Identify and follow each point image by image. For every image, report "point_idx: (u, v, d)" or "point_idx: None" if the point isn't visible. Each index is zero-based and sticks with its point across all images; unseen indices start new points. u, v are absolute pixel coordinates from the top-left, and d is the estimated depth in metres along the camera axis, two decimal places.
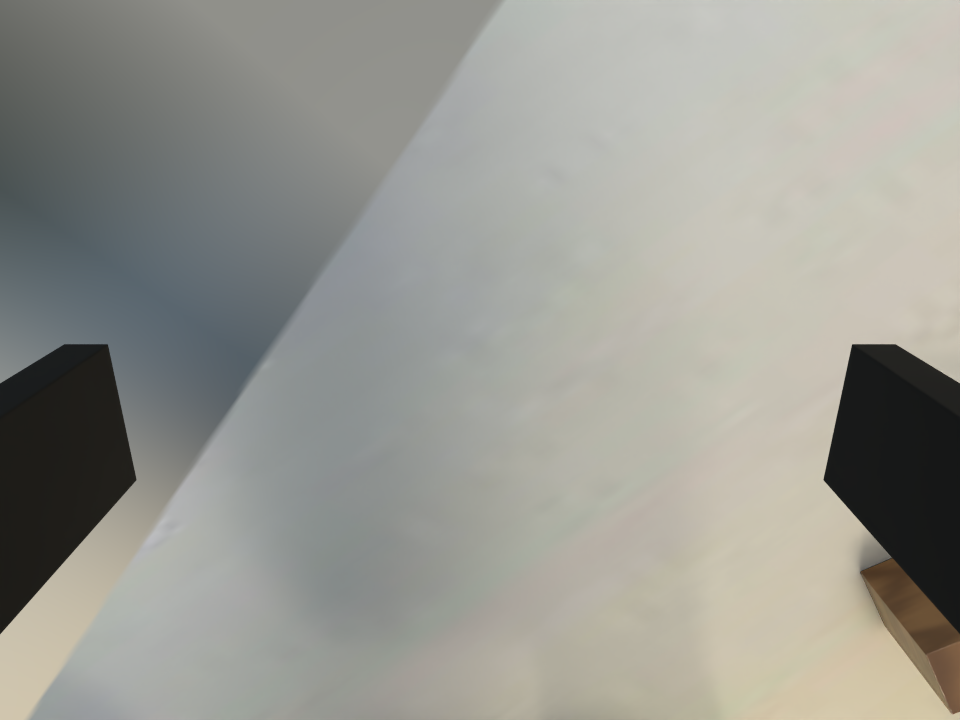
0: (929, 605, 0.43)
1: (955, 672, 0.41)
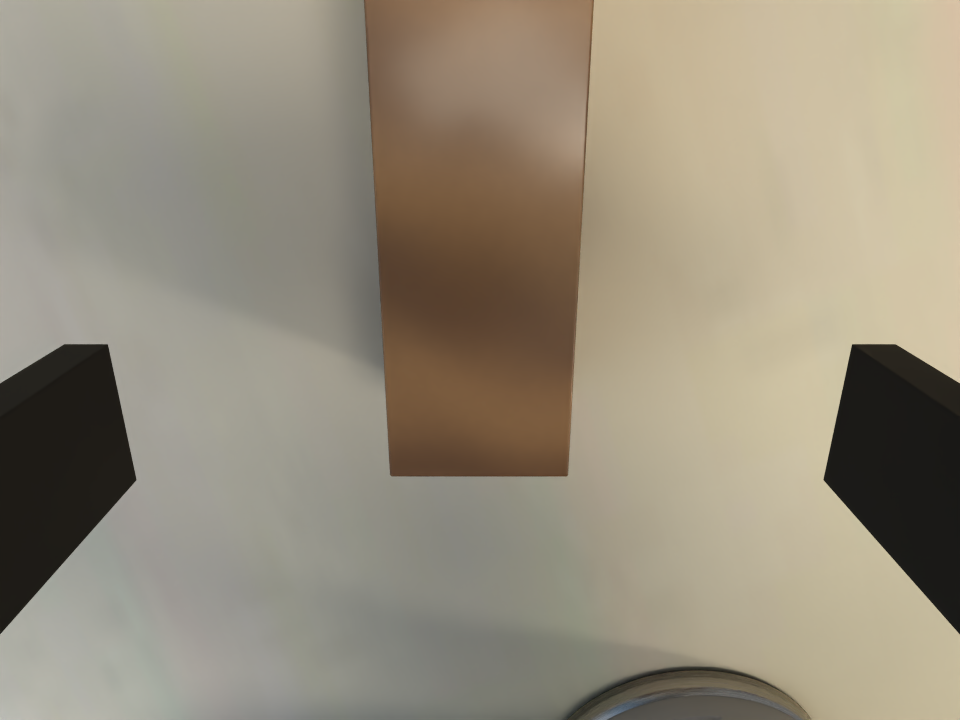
0: None
1: (461, 444, 0.21)
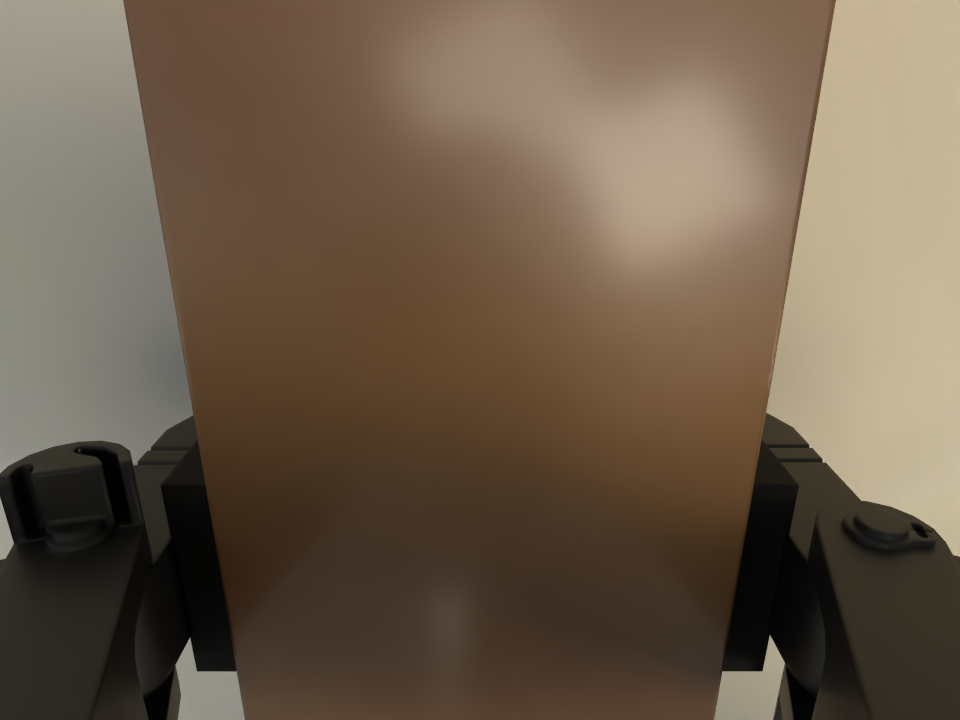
0: None
1: None
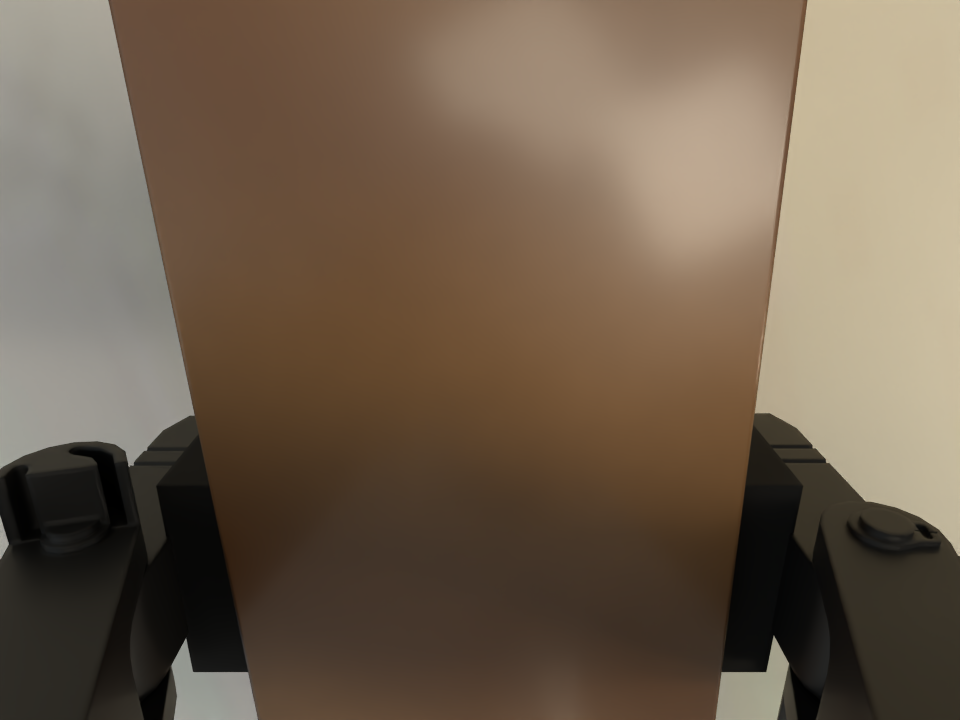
0: None
1: None
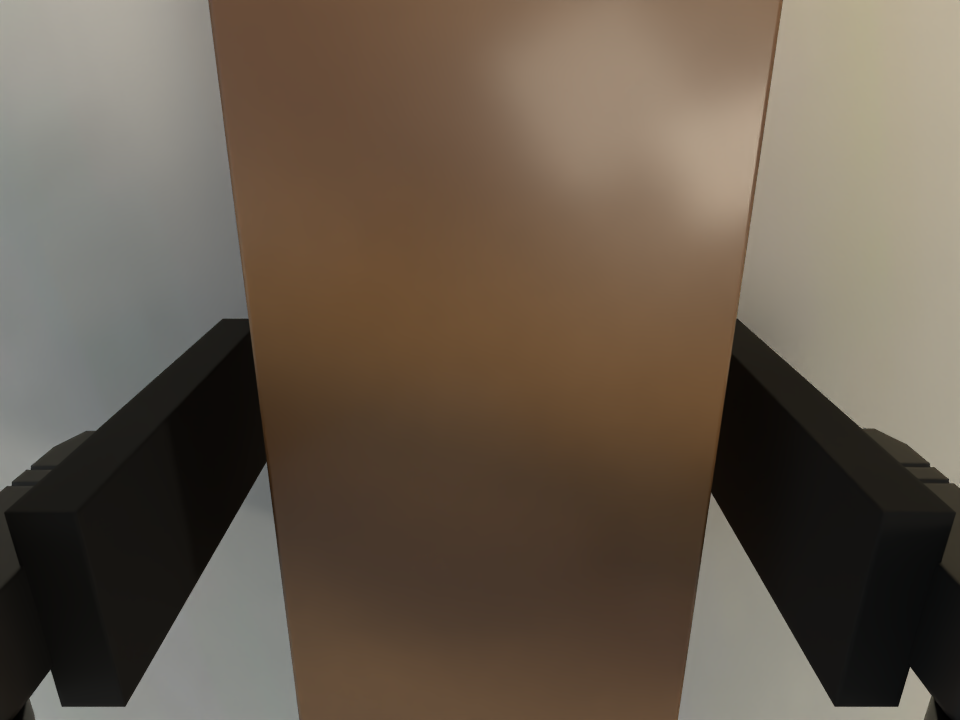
0: None
1: None
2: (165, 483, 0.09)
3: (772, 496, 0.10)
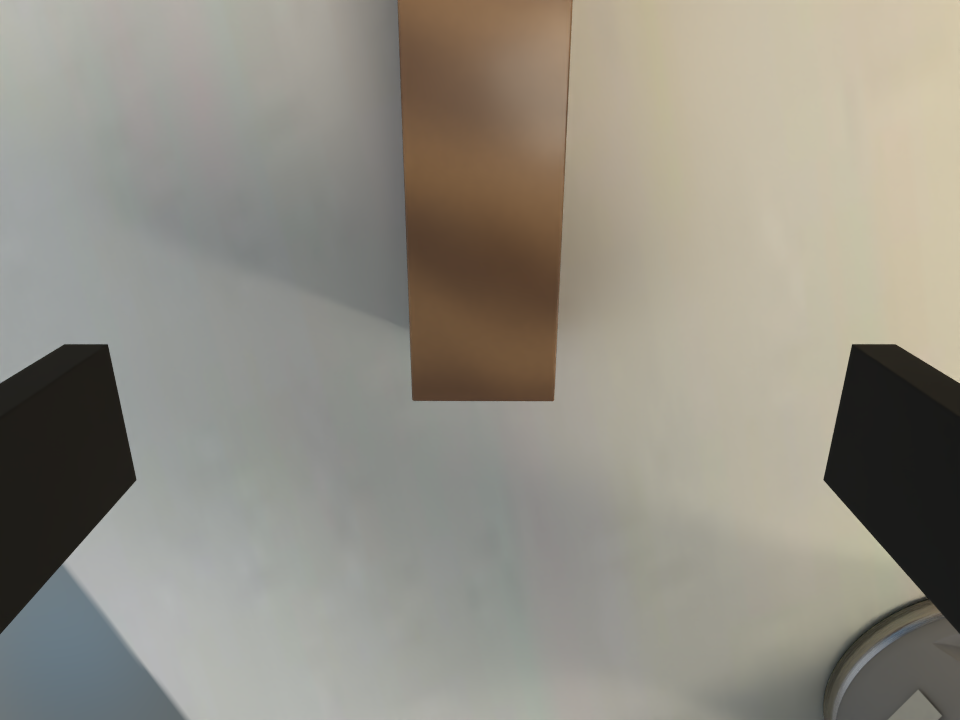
0: None
1: (469, 374, 0.27)
2: None
3: None
